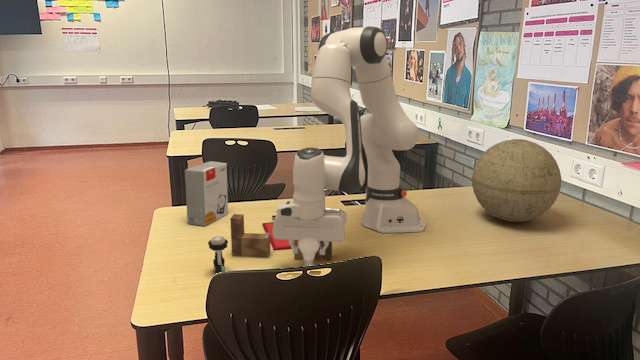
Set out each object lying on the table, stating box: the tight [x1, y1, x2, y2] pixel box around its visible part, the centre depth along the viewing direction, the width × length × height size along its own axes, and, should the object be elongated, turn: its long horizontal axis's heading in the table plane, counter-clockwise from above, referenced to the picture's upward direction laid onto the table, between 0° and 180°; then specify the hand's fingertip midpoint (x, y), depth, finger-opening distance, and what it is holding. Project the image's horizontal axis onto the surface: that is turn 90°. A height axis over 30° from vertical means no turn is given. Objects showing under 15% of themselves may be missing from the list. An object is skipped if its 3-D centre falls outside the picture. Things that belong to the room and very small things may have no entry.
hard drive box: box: [184, 160, 229, 227], centre depth 174 cm, size 16×8×20 cm, turn 158°
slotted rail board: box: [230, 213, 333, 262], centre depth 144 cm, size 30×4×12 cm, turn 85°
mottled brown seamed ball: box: [471, 138, 562, 223], centre depth 175 cm, size 30×30×30 cm
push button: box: [207, 235, 229, 274], centre depth 135 cm, size 7×5×10 cm
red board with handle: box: [261, 214, 293, 252], centre depth 165 cm, size 30×3×15 cm
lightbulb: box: [298, 237, 320, 266], centre depth 136 cm, size 6×6×11 cm
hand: (308, 253), depth 136 cm, fingers open, 6 cm apart
